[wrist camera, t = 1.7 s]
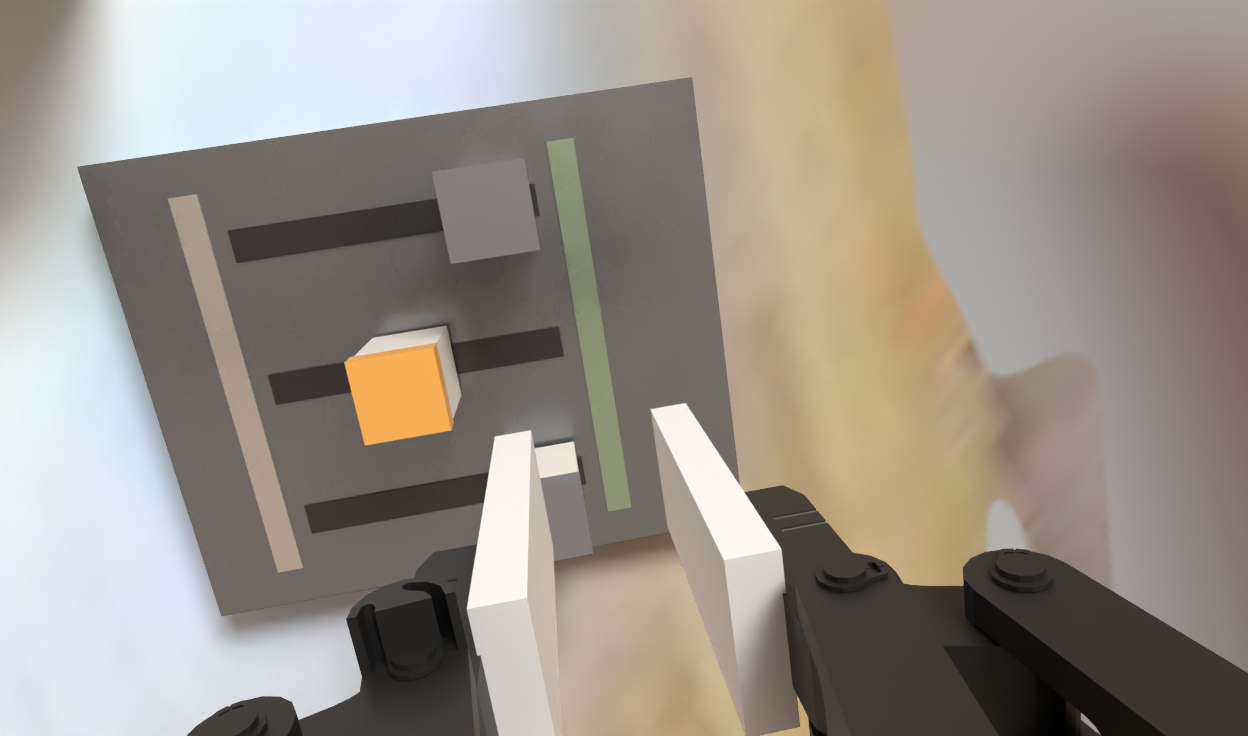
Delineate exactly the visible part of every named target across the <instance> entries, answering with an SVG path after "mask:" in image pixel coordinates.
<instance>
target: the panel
mask: <svg viewBox="0 0 1248 736" xmlns="http://www.w3.org/2000/svg"><path fill="white" fill-rule="evenodd" d="M520 158H525V164H526V170H527V175H528V181H529V187H530V192H531V198H532V204H533V210H534V215H535V221H536V227H537V233H538V238H539V244H540V250H536V251H530V252H524V253H517V254H511V255H505V256H498V257H492V258H486V259H480V260H473V261H467V262H461V263H455V264H451V263H450V259H449V254H448V249H447V244H446V239H445V234H444V229H443V225H442V220H441V215H440V210H439V205H438V200H437V195H436V191H435V186H434V181H433V176H432V172H433V171H440V170H447V169H453V168H460V167H467V166H473V165H480V164H487V163H493V162H500V161H506V160H513V159H520ZM77 168H78V171H79V174H80V177H81V180H82V184H83V187H84V190H85V193H86V196H87V199H88V202H89V205H90V208H91V212H92V215H93V218H94V221H95V224H96V227H97V230H98V233H99V236H100V240H101V243H102V246H103V249H104V252H105V255H106V258H107V261H108V264H109V268H110V271H111V274H112V277H113V280H114V283H115V286H116V289H117V292H118V296H119V299H120V302H121V305H122V308H123V311H124V314H125V317H126V320H127V324H128V327H129V330H130V333H131V336H132V339H133V342H134V345H135V348H136V352H137V355H138V358H139V361H140V364H141V367H142V370H143V373H144V376H145V380H146V383H147V386H148V389H149V392H150V395H151V398H152V401H153V404H154V408H155V411H156V414H157V417H158V420H159V423H160V426H161V429H162V432H163V436H164V439H165V442H166V445H167V448H168V451H169V454H170V457H171V460H172V464H173V467H174V470H175V473H176V476H177V479H178V482H179V485H180V488H181V492H182V495H183V498H184V501H185V504H186V507H187V510H188V513H189V516H190V520H191V523H192V526H193V529H194V532H195V535H196V538H197V541H198V544H199V548H200V551H201V554H202V557H203V560H204V563H205V566H206V569H207V572H208V576H209V579H210V582H211V585H212V588H213V591H214V594H215V597H216V601H217V604H218V607H219V610H220V613H221V616H226V615H231V614H236V613H242V612H247V611H252V610H258V609H263V608H268V607H274V606H279V605H284V604H290V603H295V602H300V601H306V600H311V599H316V598H322V597H327V596H332V595H338V594H343V593H348V592H354V591H359V590H364V589H370V588H375V587H380V586H386V585H389V584H392V583H395V582H398V581H401V580H404V579H410V578H414V577H415V574H416V570H417V569H418V568H419V567H420V566H421V565H422V564H423V563H424V562H425V561H426V560H427V558H428V557H429V556H430V555H431V554H432V553H433V552H437V551H443V550H448V549H454V548H459V547H464V546H470V545H475V544H477V543H478V537H479V531H480V525H481V518H482V512H483V506H484V500H485V494H486V488H487V482H488V475H489V469H490V463H491V457H492V451H493V445H494V439H495V436H501V435H507V434H512V433H518V432H524V431H529V430H531V433H532V438H533V443H534V448H540V447H545V446H551V445H556V444H562V443H568V442H573V441H574V446H575V452H576V457H577V463H578V469H579V473H580V479H581V484H582V490H583V496H584V502H585V507H586V513H587V519H588V525H589V530H590V536H591V542H592V547H593V546H599V545H604V544H609V543H615V542H620V541H625V540H631V539H636V538H641V537H647V536H652V535H657V534H663V533H668V532H669V529H668V526H667V520H666V513H665V506H664V499H663V492H662V485H661V479H660V472H659V465H658V458H657V451H656V444H655V437H654V430H653V424H652V417H651V410H650V409H655V408H660V407H666V406H672V405H677V404H683V403H686V404H687V406H688V407H689V409H690V410H691V412H692V414H693V415H694V417H695V418H696V420H697V421H698V423H699V424H700V426H701V427H702V429H703V430H704V432H705V433H706V435H707V436H708V438H709V439H710V441H711V442H712V444H713V446H714V447H715V449H716V450H717V452H718V453H719V455H720V456H721V458H722V459H723V461H724V462H725V464H726V465H727V467H728V468H729V470H730V471H731V473H732V474H733V476H734V477H735V479H736V481H737V482H738V484H739V485H740V483H739V474H738V466H737V457H736V449H735V440H734V432H733V423H732V415H731V406H730V397H729V389H728V380H727V372H726V363H725V355H724V346H723V338H722V329H721V320H720V312H719V303H718V295H717V286H716V278H715V269H714V261H713V252H712V243H711V235H710V226H709V218H708V209H707V201H706V192H705V184H704V175H703V167H702V158H701V149H700V141H699V132H698V124H697V115H696V107H695V98H694V90H693V81H692V77H691V78H684V79H677V80H670V81H663V82H657V83H650V84H643V85H636V86H629V87H622V88H615V89H608V90H602V91H595V92H588V93H581V94H574V95H567V96H560V97H554V98H547V99H540V100H533V101H526V102H519V103H512V104H505V105H499V106H492V107H485V108H478V109H471V110H464V111H457V112H450V113H444V114H437V115H430V116H423V117H416V118H409V119H402V120H396V121H389V122H382V123H375V124H368V125H361V126H354V127H347V128H341V129H334V130H327V131H320V132H313V133H306V134H299V135H292V136H286V137H279V138H272V139H265V140H258V141H251V142H244V143H238V144H231V145H224V146H217V147H210V148H203V149H196V150H189V151H183V152H176V153H169V154H162V155H155V156H148V157H141V158H134V159H128V160H121V161H114V162H107V163H100V164H93V165H86V166H80V167H77ZM441 326H447V329H448V334H449V339H450V344H451V348H452V353H453V358H454V362H455V367H456V372H457V377H458V381H459V386H460V391H461V398H460V401H459V403H458V406H457V409H456V412H455V415H454V418H453V422H454V424H453V427H452V430H451V431H445V432H439V433H434V434H428V435H422V436H416V437H411V438H405V439H399V440H393V441H388V442H382V443H376V444H371V445H365V444H364V440H363V436H362V432H361V428H360V424H359V420H358V416H357V412H356V408H355V404H354V400H353V396H352V392H351V388H350V384H349V380H348V376H347V372H346V368H345V364H344V362H346V361H347V360H348V359H349V358H350V357H354V356H355V355H356V354H357V353H358V352H359V351H360V350H361V349H362V348H363V347H364V346H365V345H366V344H367V343H368V342H369V341H370V340H371V339H372V338H374V337H381V336H387V335H393V334H399V333H405V332H411V331H417V330H423V329H429V328H435V327H441Z"/></svg>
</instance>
